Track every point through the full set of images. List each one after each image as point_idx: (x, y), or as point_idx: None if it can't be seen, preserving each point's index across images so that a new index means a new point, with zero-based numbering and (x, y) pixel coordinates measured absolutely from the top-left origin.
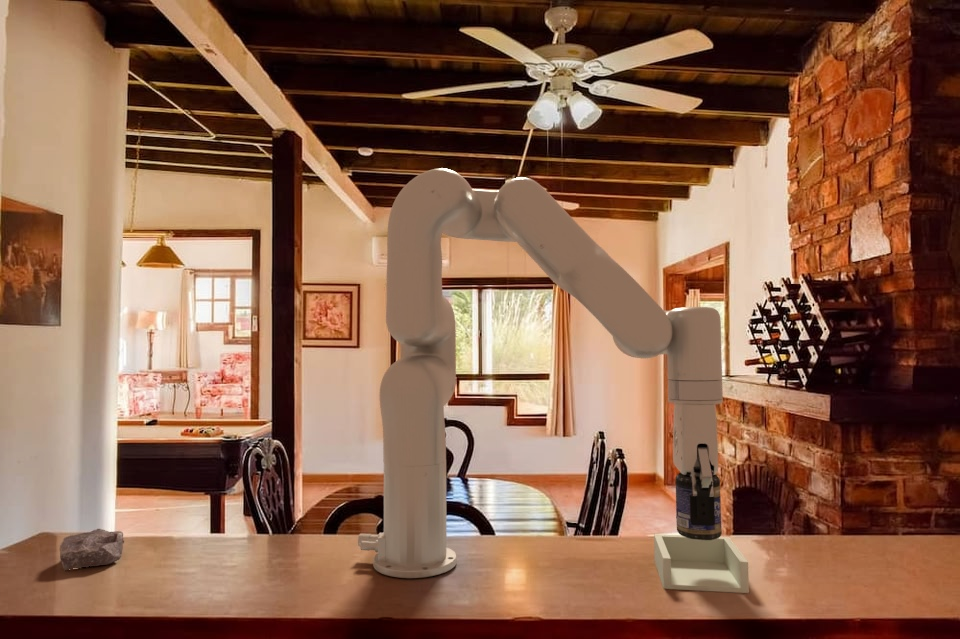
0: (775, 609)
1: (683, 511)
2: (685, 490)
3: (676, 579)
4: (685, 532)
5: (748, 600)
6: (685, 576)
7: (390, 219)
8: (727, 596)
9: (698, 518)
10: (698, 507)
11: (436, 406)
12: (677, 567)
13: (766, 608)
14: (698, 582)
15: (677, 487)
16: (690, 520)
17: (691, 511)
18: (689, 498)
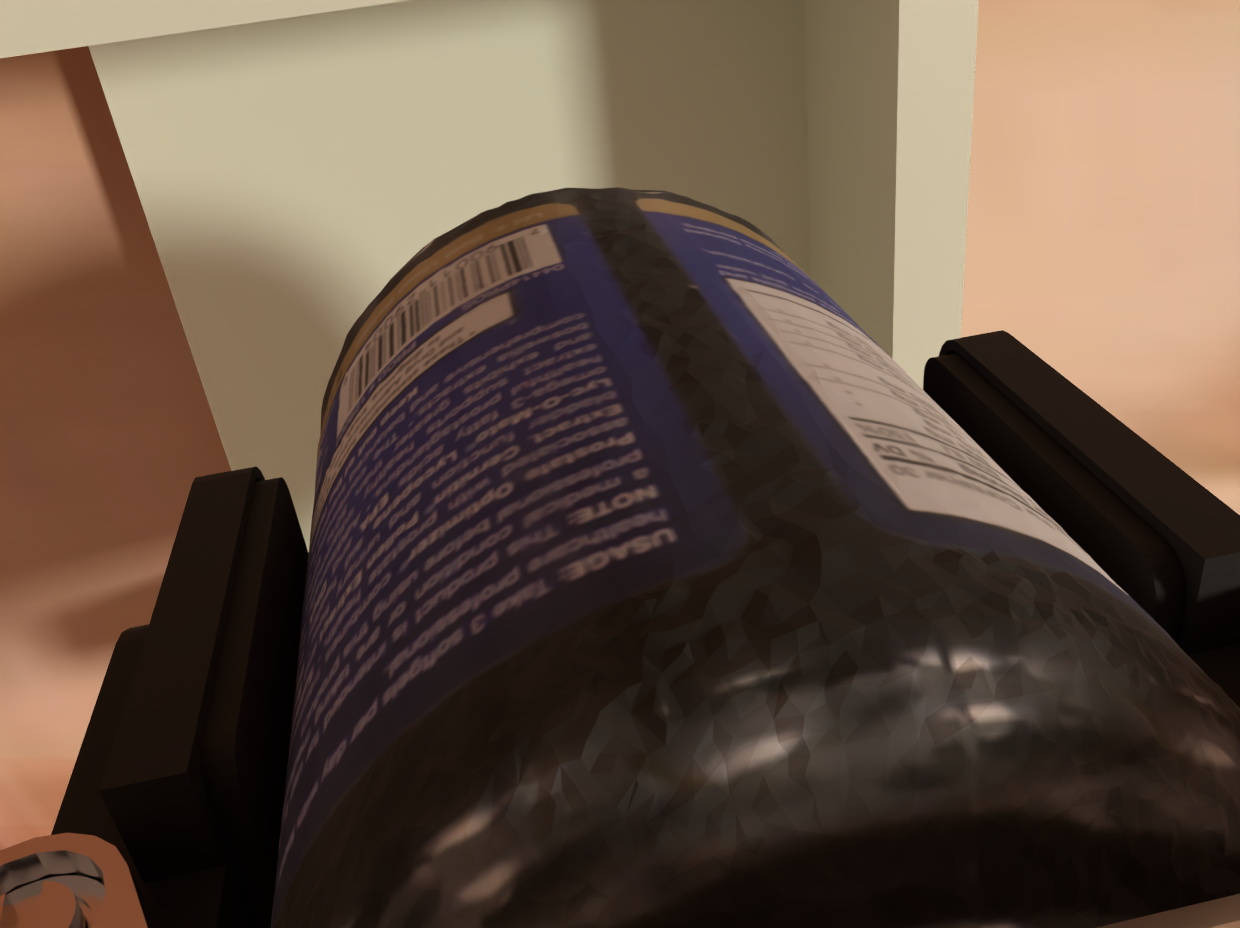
0: (47, 721)
1: (387, 425)
2: (349, 730)
3: (250, 67)
4: (363, 315)
5: (134, 585)
6: (369, 153)
7: None
8: (147, 460)
9: (134, 631)
10: (86, 762)
11: None
12: (603, 77)
13: (35, 678)
14: (257, 266)
15: (577, 559)
16: (217, 486)
17: (168, 592)
18: (308, 687)
